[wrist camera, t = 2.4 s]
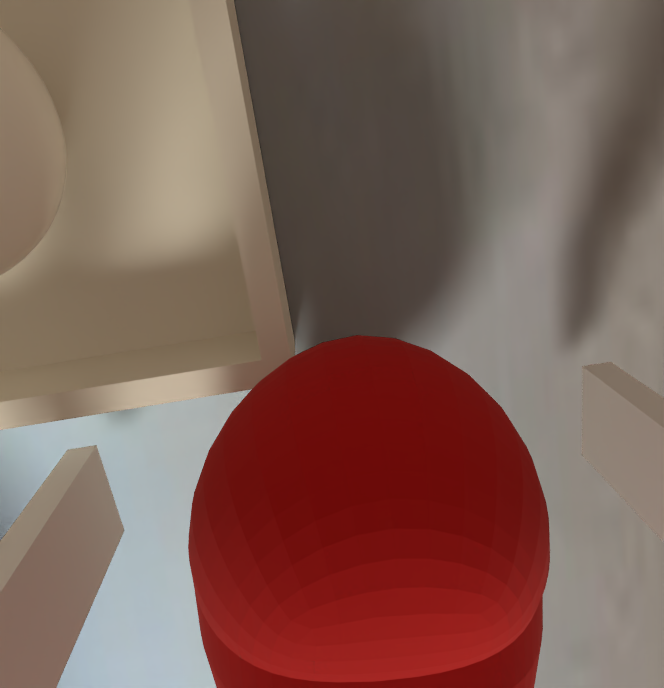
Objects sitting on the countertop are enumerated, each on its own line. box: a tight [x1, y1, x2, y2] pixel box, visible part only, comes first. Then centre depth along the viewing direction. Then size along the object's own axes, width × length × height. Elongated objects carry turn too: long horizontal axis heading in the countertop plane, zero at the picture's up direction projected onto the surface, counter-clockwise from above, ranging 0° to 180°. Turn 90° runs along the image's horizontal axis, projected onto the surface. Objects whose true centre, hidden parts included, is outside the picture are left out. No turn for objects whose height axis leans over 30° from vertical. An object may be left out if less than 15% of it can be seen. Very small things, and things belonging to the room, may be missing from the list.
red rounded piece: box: [188, 335, 550, 688], centre depth 13 cm, size 9×7×10 cm
